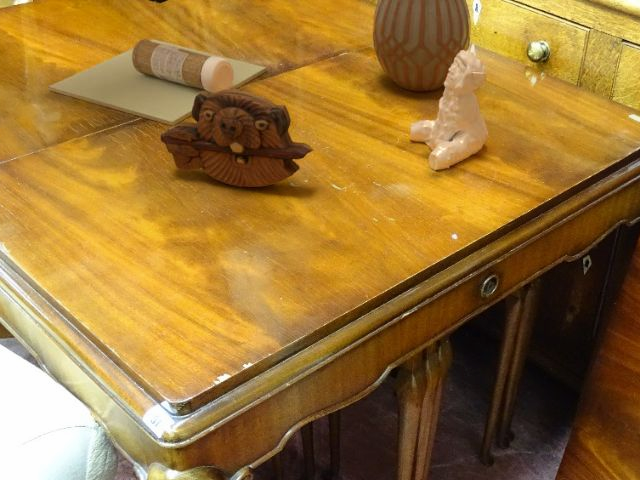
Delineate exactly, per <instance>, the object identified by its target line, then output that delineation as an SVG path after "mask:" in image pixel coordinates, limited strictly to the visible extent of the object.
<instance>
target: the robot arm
mask: <svg viewBox="0 0 640 480" xmlns="http://www.w3.org/2000/svg"><path fill="white" fill-rule="evenodd" d="M167 1H169V0H148V2H152V3H157V4H163V3H165V2H167Z"/></svg>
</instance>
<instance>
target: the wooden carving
mask: <svg viewBox="0 0 640 480" xmlns="http://www.w3.org/2000/svg"><path fill="white" fill-rule="evenodd" d="M191 117H192V118H193V120H194V121H195V122H193V121H181V122H179V123H177V124H176V125H174V126H170V127H169V128H167V130H166V131H165V132H163V133H161V134H160V141H161V143H163V144H164V146H165V148H166V150H167V152H168V153H169V154H171V155H172V159H173V162H174V165H175V166H176V168H177V169H179V170H182V171H195V170H199V169H202V172H204V173H205V174H206V175H208V176H209V177H211V178H212V179H214V180H216V181H218V182H222V183H223V184H227V185H231V186H234V187H243V188H244V187H245V188H255V187H256V188H257V187H258V188H260V187H267V186H271V185H273V184H274V185H275V184H277V183H279V182H280V183H281V182H282V181H284V180H287V179H288V178H290V177H292V176H294V174H295V173H297V172H298V171H299V170H300V169H301V167H300V165H299V164H298V163H296V161H294V160H302V159H304V158H305V157H306V156H307V155H308V154H309V153H311V152H314V149H313V147H312V146H311V145H310V144H308V143H305V142H297V141H293V139H292V137H291V135H290V133H289V128H290V126H291V121H292V120H291V116H290V113H289V110H288V108H287V106H286V105H285V104H276V103H275V102H273V101H271V100H270V99H269V98H267V97H265V96H262V95H259V94H257V93H255V92H252V91H249V90H245V89H238V88H237V89H228V90H222V91H219V92H216V93H213V94H209V93H208V92H206V91H202V92H200V93H199V94H198V95H197V96H196V97H195V100H194V105H193V107H192V115H191Z"/></svg>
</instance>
